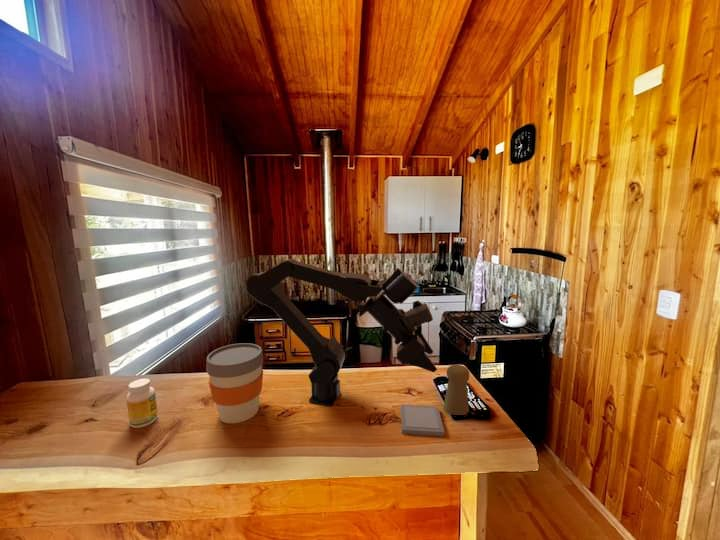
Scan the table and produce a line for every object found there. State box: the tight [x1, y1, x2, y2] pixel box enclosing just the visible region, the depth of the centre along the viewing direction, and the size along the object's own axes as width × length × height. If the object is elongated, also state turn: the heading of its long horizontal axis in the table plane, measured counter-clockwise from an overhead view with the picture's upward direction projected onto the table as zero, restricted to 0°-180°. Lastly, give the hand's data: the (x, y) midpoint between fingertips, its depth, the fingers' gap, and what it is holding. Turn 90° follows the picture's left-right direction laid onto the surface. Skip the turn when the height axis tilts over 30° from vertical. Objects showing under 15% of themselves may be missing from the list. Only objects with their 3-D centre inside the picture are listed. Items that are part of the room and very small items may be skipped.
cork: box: [443, 364, 470, 416], centre depth 72 cm, size 6×6×11 cm
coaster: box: [400, 404, 446, 437], centre depth 69 cm, size 9×9×1 cm
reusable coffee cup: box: [205, 342, 264, 424], centre depth 72 cm, size 13×13×15 cm
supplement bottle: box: [125, 378, 159, 429], centre depth 69 cm, size 5×5×10 cm
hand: (433, 361), depth 72 cm, fingers open, 9 cm apart
